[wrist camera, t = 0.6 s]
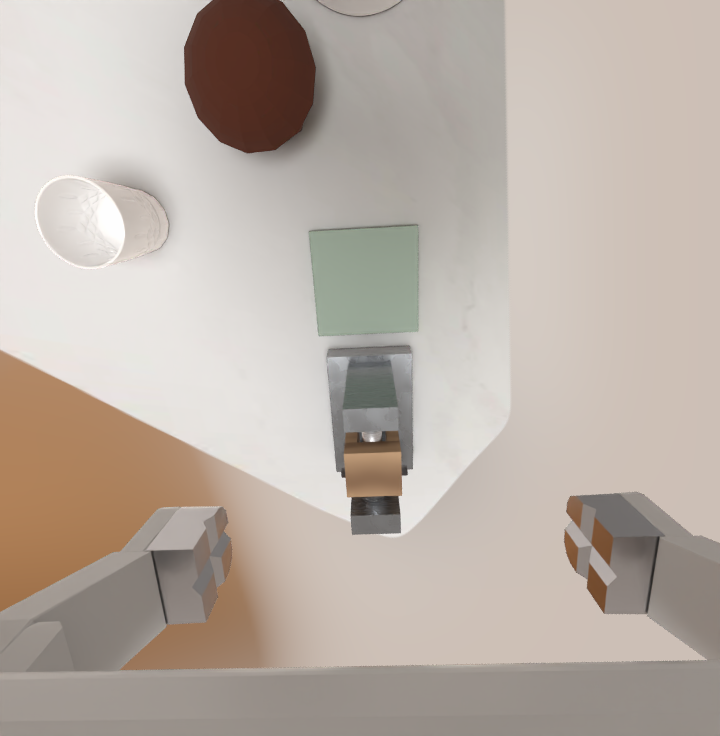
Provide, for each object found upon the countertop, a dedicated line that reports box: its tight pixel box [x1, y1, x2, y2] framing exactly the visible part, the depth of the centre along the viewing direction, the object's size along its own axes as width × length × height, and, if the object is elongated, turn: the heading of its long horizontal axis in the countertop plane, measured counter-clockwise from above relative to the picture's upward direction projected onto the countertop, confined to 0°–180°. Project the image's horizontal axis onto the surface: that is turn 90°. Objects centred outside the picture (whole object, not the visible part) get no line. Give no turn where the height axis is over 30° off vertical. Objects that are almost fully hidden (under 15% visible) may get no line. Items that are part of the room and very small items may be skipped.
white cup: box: [34, 175, 169, 269], centre depth 40 cm, size 8×8×10 cm
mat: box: [309, 225, 418, 336], centre depth 47 cm, size 12×12×1 cm
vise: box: [327, 346, 413, 535], centre depth 46 cm, size 16×10×15 cm, turn 3°
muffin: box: [184, 0, 316, 153], centre depth 36 cm, size 12×11×10 cm
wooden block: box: [344, 431, 402, 497], centre depth 42 cm, size 5×5×8 cm
